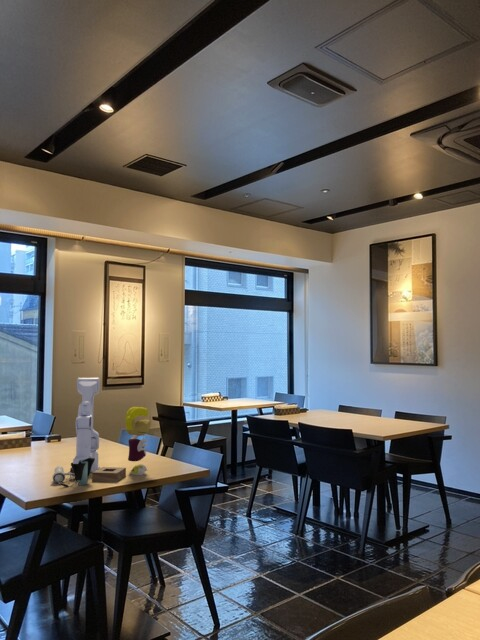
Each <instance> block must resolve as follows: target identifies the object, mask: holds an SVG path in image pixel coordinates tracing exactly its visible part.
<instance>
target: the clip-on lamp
mask: <svg viewBox="0 0 480 640" xmlns="http://www.w3.org/2000/svg"><path fill="white" fill-rule="evenodd" d="M66 476H69V478H68V479H67V480H65V479H66ZM71 479H74V482H73V483H72V484H70V485H69V484H66V483H64V481H66V482H68V481H70V480H71ZM52 481H53V482H54V483H55V484H59V485H60V486H62V487H64V488H69V487H72V486H73V485H74V484H75V483H76V482H77V481H78V480H76V478H75V474H74V470H73V468H72V467H70V469H69V471H68V472H64V468H63V466H61V465H58V466H56V467H55V468H54V473H53V475H52Z"/></svg>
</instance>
